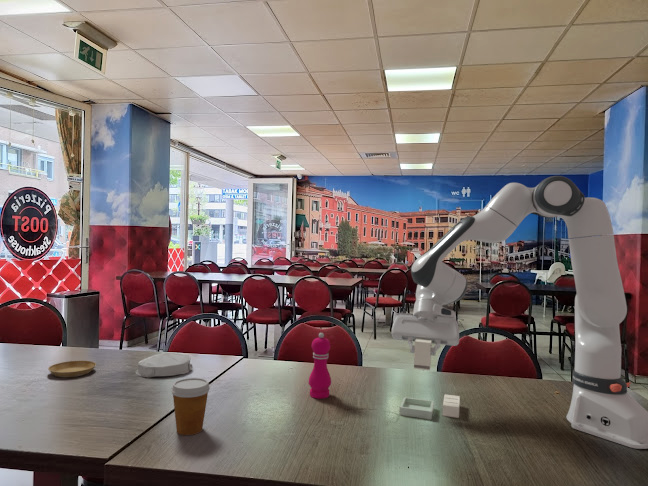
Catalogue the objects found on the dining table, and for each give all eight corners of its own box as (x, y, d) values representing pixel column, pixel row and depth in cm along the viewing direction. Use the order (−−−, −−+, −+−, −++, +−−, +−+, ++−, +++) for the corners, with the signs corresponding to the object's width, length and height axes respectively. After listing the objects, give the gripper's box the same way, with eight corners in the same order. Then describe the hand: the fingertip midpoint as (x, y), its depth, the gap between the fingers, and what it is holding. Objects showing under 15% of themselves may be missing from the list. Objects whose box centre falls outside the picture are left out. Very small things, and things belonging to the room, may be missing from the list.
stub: (415, 364, 133) (416, 338, 133) (430, 366, 132) (431, 340, 132) (413, 368, 129) (414, 341, 129) (429, 370, 128) (430, 342, 128)
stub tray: (403, 404, 134) (403, 396, 134) (433, 408, 132) (433, 401, 132) (399, 414, 126) (399, 407, 126) (431, 419, 123) (431, 411, 123)
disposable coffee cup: (187, 442, 105) (189, 392, 105) (161, 431, 110) (163, 384, 110) (216, 428, 113) (218, 381, 113) (191, 419, 118) (192, 375, 118)
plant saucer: (84, 364, 166) (84, 358, 166) (103, 372, 157) (104, 365, 157) (40, 373, 154) (40, 366, 154) (59, 382, 145) (59, 374, 145)
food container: (182, 380, 152) (183, 361, 152) (125, 377, 152) (126, 358, 152) (199, 365, 172) (200, 347, 172) (149, 362, 172) (150, 345, 172)
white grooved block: (444, 403, 136) (444, 393, 136) (459, 405, 134) (459, 395, 134) (442, 415, 126) (442, 404, 126) (459, 418, 125) (459, 407, 125)
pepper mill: (328, 400, 136) (330, 335, 136) (305, 398, 137) (307, 334, 137) (332, 392, 143) (334, 331, 143) (311, 390, 144) (312, 329, 144)
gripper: (393, 306, 140) (386, 343, 131) (460, 312, 134) (458, 351, 125) (395, 318, 144) (388, 354, 135) (460, 324, 138) (458, 363, 129)
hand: (422, 353), depth 130 cm, fingers closed on stub, 4 cm apart
